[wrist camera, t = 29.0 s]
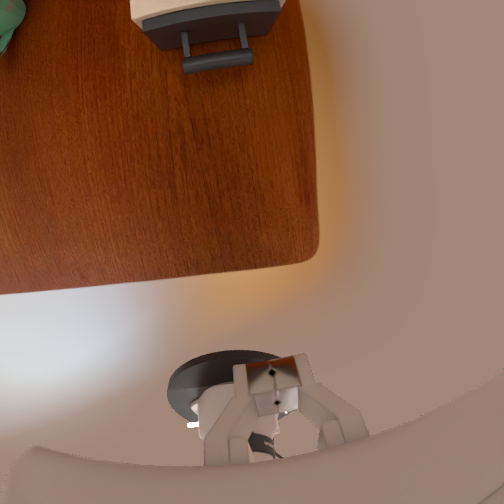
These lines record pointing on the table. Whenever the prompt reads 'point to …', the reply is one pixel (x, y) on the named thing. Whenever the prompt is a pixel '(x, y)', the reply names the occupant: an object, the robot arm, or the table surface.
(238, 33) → the drawer
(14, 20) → the mug
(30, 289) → the table surface
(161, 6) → the beige cabinet housing
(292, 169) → the table surface
